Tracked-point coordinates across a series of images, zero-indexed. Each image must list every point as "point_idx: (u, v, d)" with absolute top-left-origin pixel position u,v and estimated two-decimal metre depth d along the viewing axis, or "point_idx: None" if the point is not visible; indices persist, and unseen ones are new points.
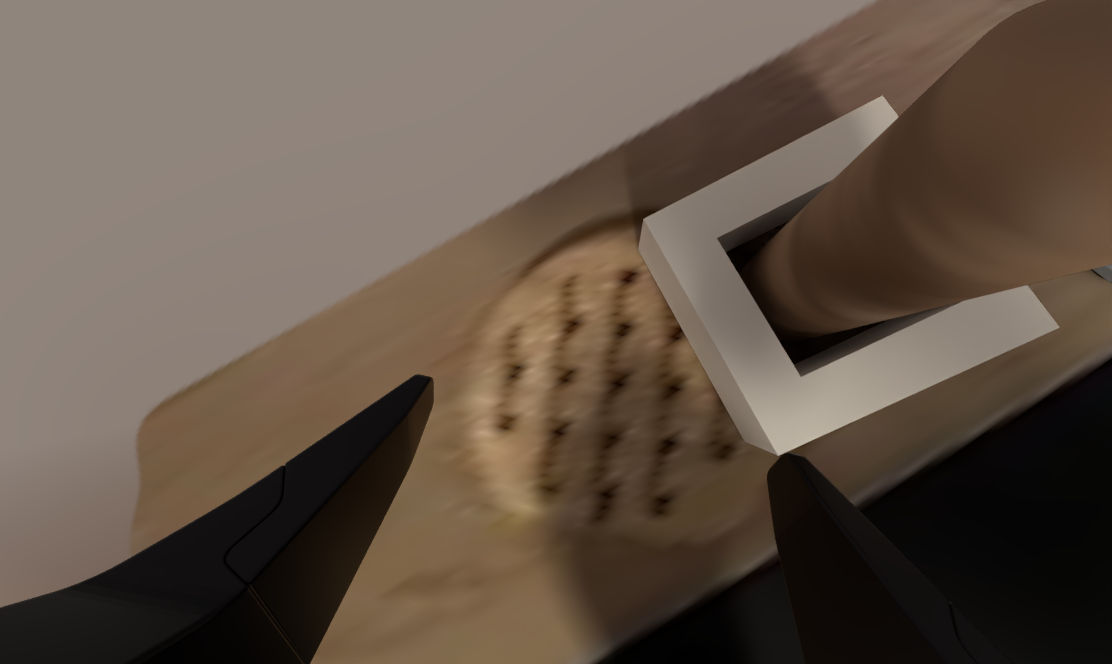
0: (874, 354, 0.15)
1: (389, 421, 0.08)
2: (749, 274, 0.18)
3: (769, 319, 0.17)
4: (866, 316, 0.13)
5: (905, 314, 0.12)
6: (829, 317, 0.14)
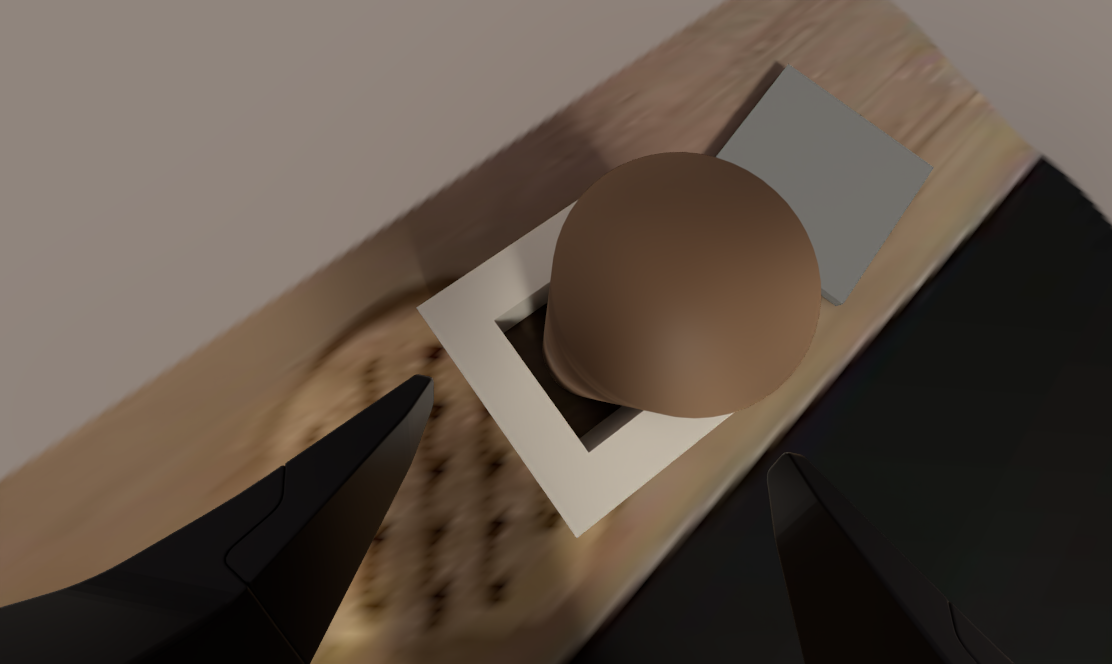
0: (650, 418, 0.16)
1: (389, 421, 0.08)
2: None
3: (565, 388, 0.17)
4: None
5: None
6: None
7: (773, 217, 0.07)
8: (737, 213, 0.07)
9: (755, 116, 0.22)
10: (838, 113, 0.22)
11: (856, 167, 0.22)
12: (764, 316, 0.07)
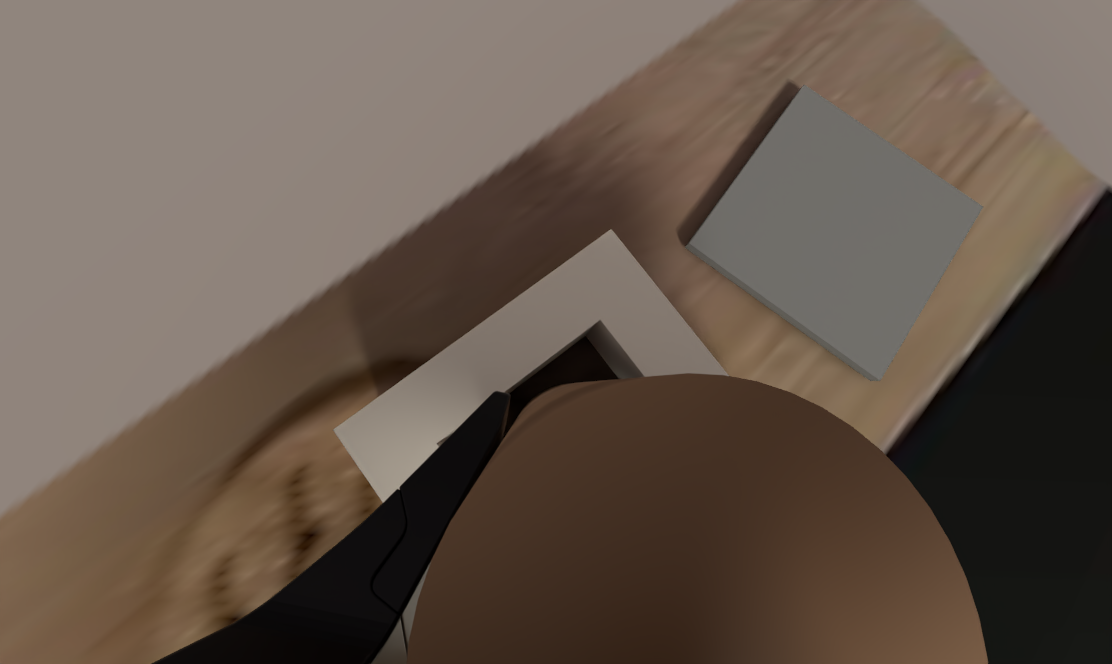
0: None
1: (484, 441, 0.08)
2: None
3: None
4: None
5: None
6: None
7: (879, 511, 0.04)
8: (805, 507, 0.04)
9: (766, 149, 0.18)
10: (865, 142, 0.18)
11: (890, 208, 0.18)
12: None
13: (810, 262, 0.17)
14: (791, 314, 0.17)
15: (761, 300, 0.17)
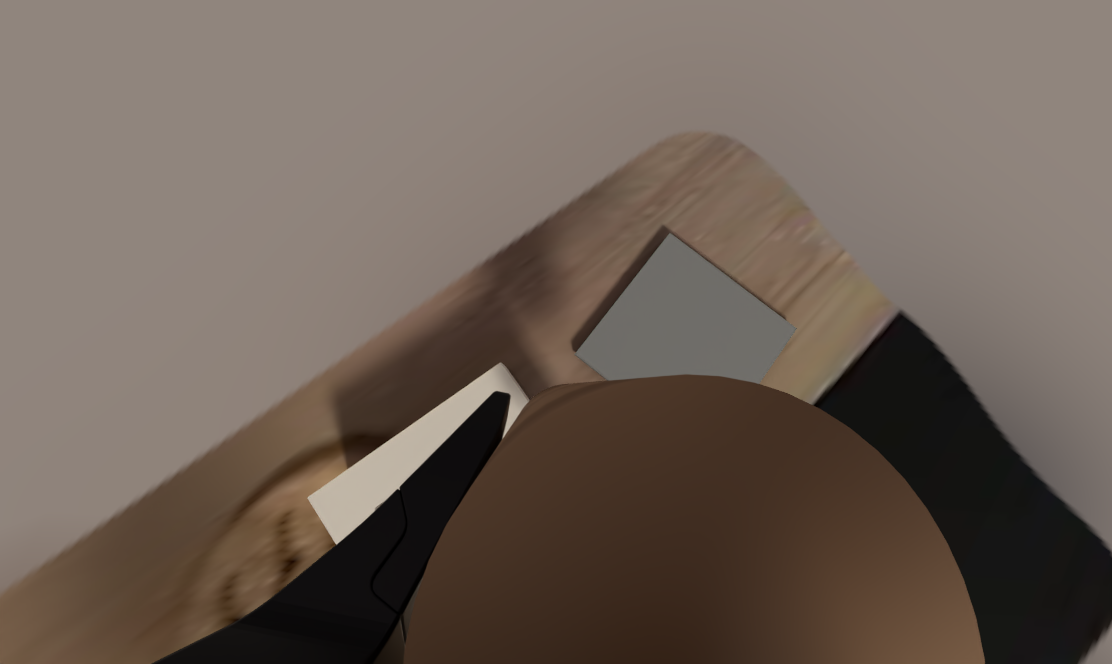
0: None
1: (484, 441, 0.08)
2: None
3: None
4: None
5: None
6: None
7: (876, 512, 0.04)
8: (802, 508, 0.04)
9: (637, 282, 0.24)
10: (712, 278, 0.25)
11: (727, 329, 0.24)
12: None
13: (663, 369, 0.24)
14: None
15: None
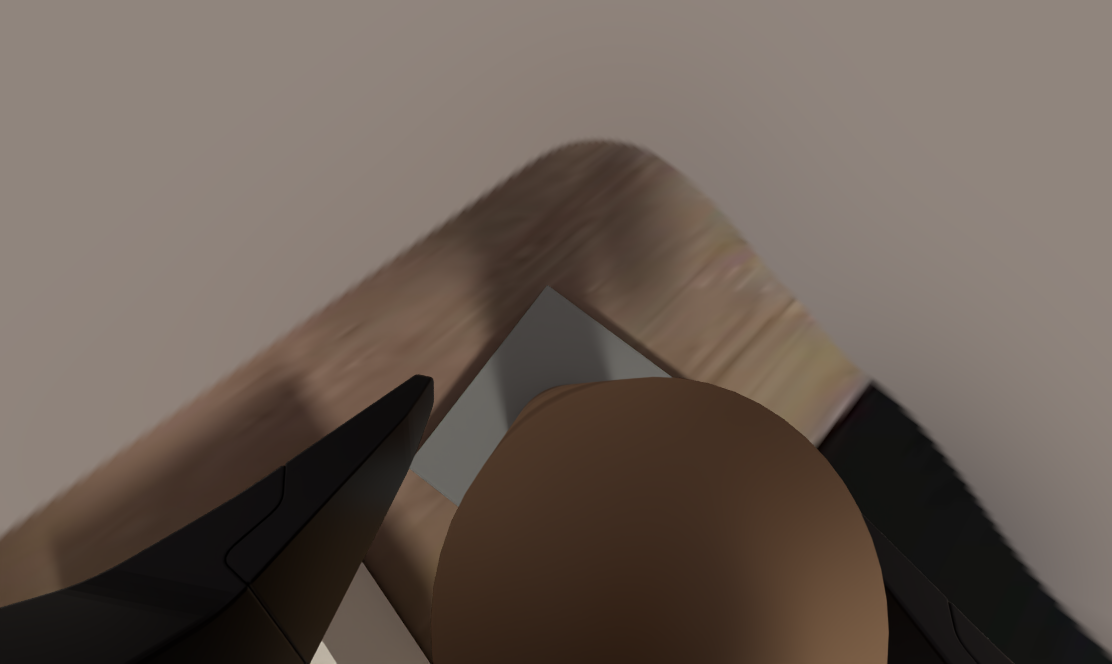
0: None
1: (389, 421, 0.08)
2: None
3: None
4: None
5: None
6: None
7: (804, 485, 0.04)
8: (744, 482, 0.04)
9: (499, 358, 0.17)
10: (606, 348, 0.18)
11: None
12: None
13: None
14: None
15: None
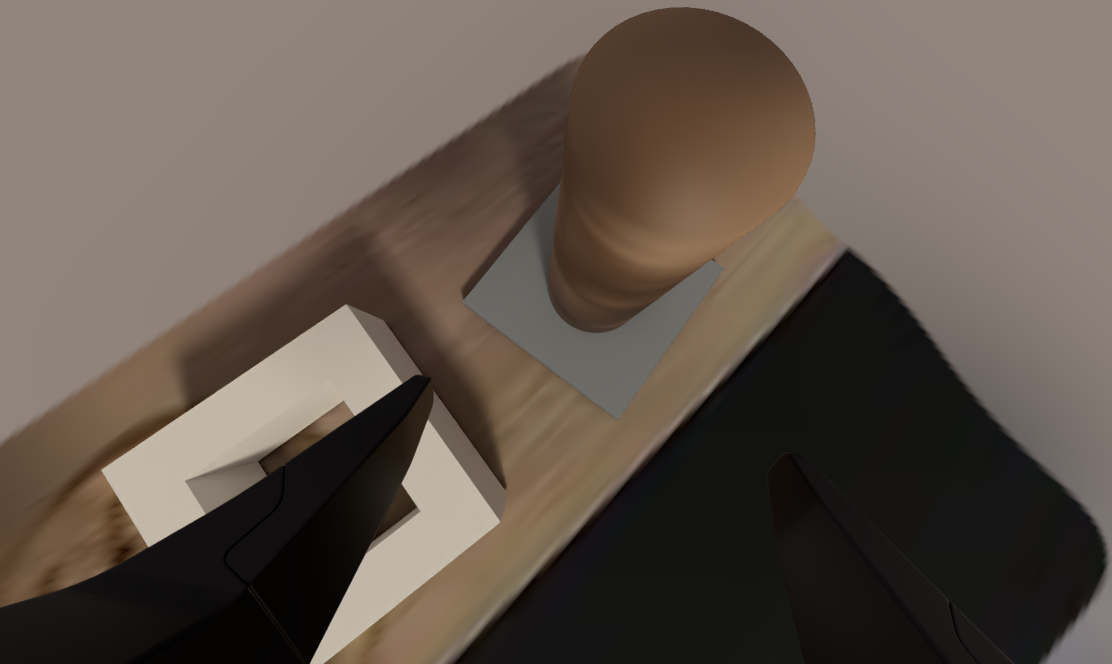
0: None
1: (389, 421, 0.08)
2: (549, 276, 0.19)
3: (572, 316, 0.18)
4: (624, 305, 0.14)
5: (650, 299, 0.13)
6: (602, 309, 0.15)
7: (770, 64, 0.08)
8: (737, 60, 0.08)
9: (537, 219, 0.21)
10: None
11: None
12: (763, 149, 0.08)
13: None
14: (545, 363, 0.20)
15: (525, 350, 0.20)
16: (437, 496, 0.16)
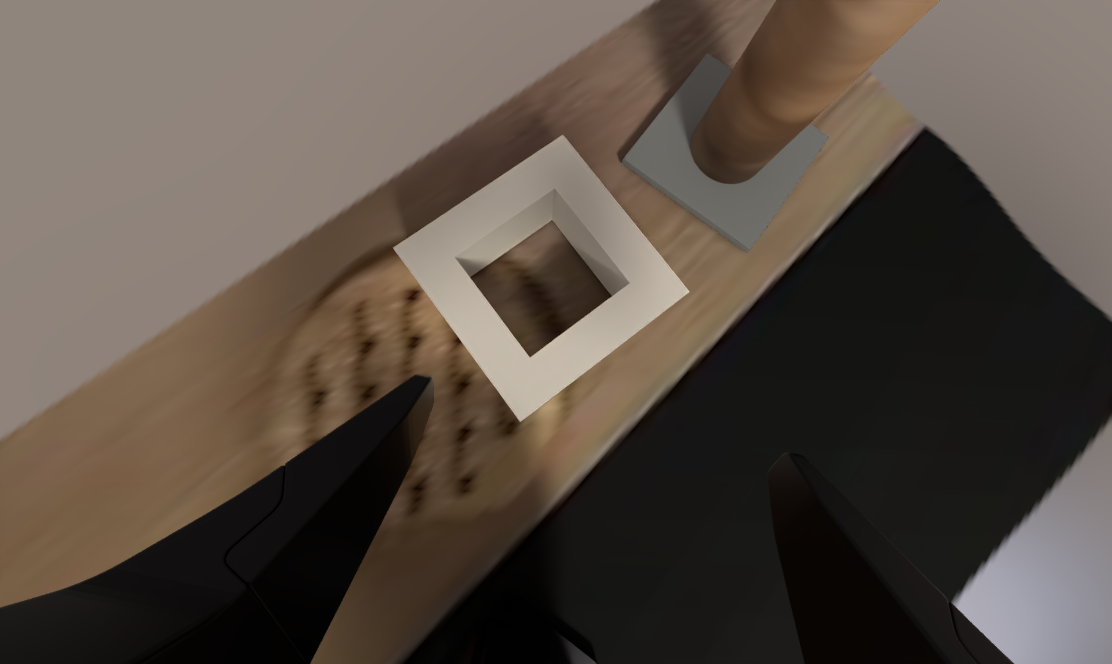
0: (578, 330, 0.20)
1: (389, 421, 0.08)
2: (703, 128, 0.23)
3: (723, 157, 0.23)
4: (798, 112, 0.19)
5: (822, 103, 0.18)
6: (772, 126, 0.20)
7: None
8: None
9: (679, 96, 0.26)
10: None
11: None
12: None
13: None
14: (691, 206, 0.25)
15: (672, 198, 0.25)
16: (641, 272, 0.20)
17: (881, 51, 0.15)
